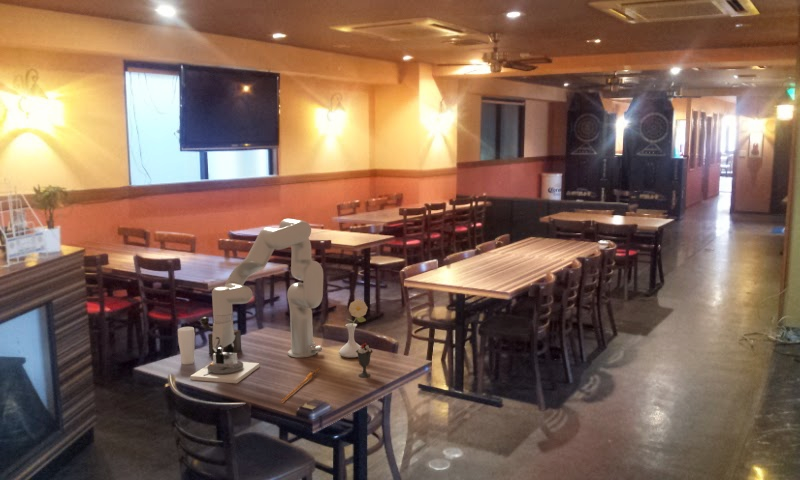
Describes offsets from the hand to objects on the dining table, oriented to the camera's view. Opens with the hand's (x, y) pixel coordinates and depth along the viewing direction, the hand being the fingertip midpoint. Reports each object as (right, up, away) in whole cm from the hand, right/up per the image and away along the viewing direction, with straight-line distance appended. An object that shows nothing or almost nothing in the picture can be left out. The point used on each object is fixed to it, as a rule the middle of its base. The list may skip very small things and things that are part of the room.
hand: (225, 360), depth 276 cm
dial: (0, -4, +1) cm, 4 cm away
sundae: (+57, -6, -4) cm, 57 cm away
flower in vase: (+51, -2, +21) cm, 55 cm away
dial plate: (0, -5, +1) cm, 5 cm away
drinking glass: (-19, -4, +14) cm, 24 cm away
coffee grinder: (-8, -2, +25) cm, 27 cm away
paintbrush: (+33, -8, -16) cm, 37 cm away
